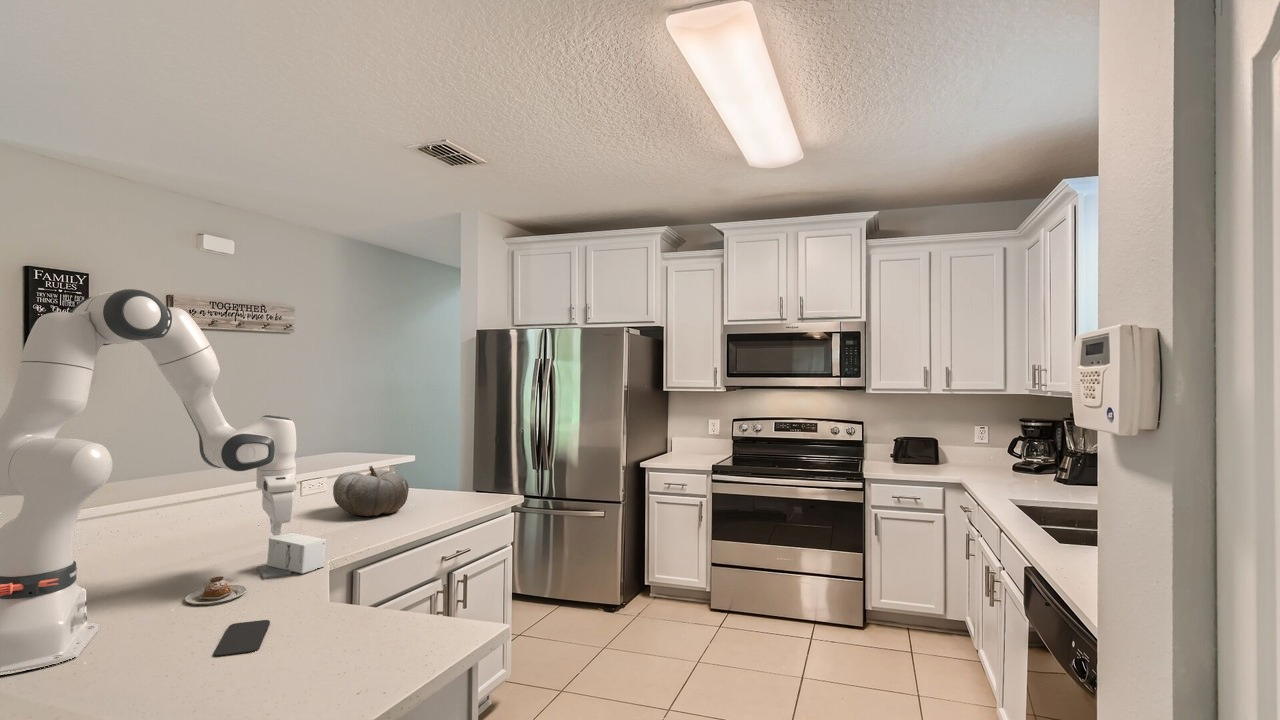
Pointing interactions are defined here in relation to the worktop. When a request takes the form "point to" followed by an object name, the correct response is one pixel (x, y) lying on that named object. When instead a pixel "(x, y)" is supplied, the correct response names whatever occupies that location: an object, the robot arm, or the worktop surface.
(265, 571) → the slate mat
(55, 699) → the worktop surface
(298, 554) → the supplement box
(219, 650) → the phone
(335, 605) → the worktop surface
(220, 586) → the pastry
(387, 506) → the gourd
